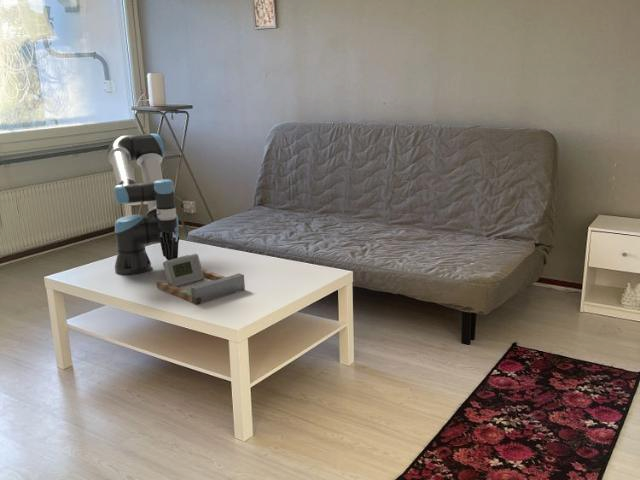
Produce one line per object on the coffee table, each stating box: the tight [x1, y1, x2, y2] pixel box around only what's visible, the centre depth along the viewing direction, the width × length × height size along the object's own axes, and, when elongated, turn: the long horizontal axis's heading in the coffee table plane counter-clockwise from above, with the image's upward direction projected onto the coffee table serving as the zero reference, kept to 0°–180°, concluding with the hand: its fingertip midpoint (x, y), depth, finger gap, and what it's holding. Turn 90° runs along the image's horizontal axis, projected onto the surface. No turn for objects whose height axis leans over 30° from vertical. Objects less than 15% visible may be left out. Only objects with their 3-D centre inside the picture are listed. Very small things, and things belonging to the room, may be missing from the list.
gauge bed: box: [156, 269, 246, 305], centre depth 247 cm, size 28×22×3 cm
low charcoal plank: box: [190, 272, 246, 305], centre depth 238 cm, size 3×22×6 cm, turn 134°
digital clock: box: [162, 253, 205, 288], centre depth 254 cm, size 16×9×11 cm, turn 123°
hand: (171, 274), depth 262 cm, fingers closed
